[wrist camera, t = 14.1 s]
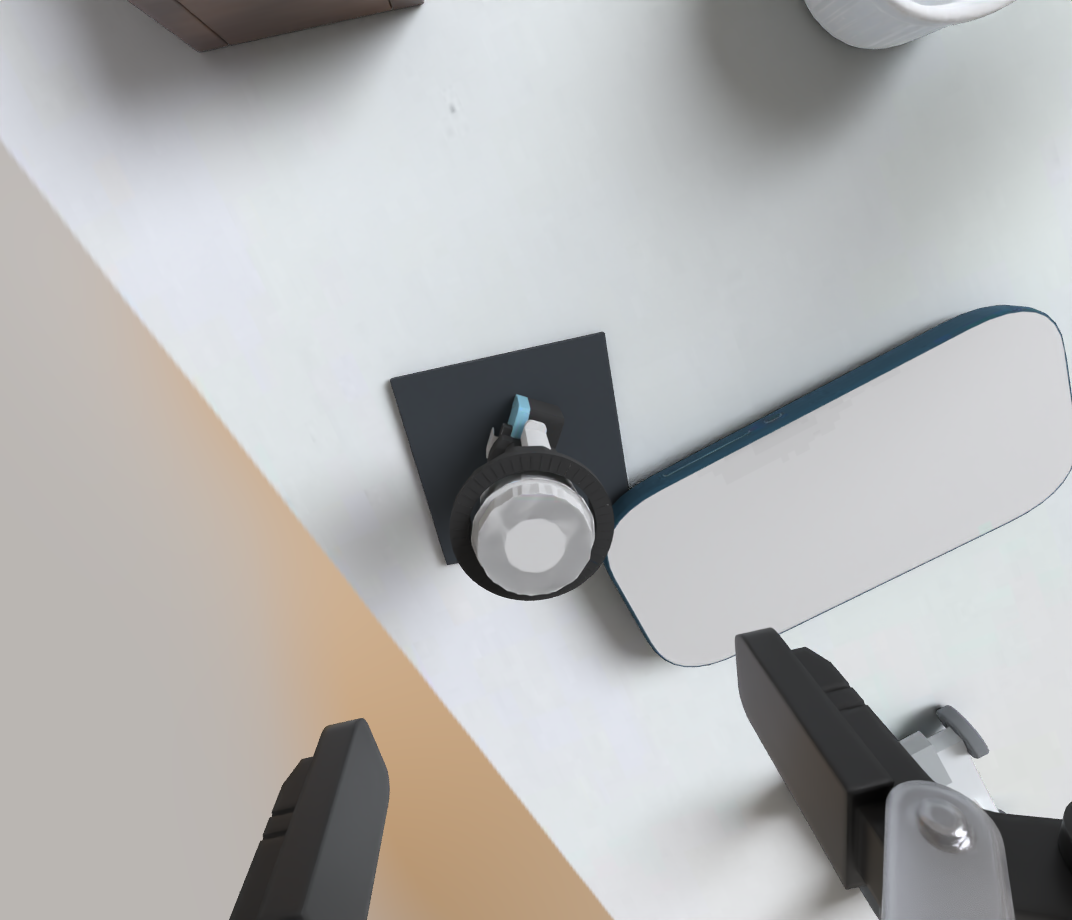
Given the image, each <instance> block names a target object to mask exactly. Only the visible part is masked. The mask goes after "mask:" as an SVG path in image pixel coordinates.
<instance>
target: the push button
mask: <svg viewBox="0 0 1072 920" xmlns="http://www.w3.org/2000/svg"><path fill="white" fill-rule="evenodd" d="M564 421H565V419H564V416H563V414H562V412H561V410H560V408H559V406H557V405H553V404H549V403H546V402H542V401H539V400H535V399H532V398H528V397H525V396H521V395H518V394H516V395H515V398H514V401H513V405H512V410H511V414H510V417H509V420H508V424H505V423H503V424H502V426H501V430H500V433H499V436H498V437H496V436H494V428H493V427H492V430H491V433H490V437H489V440H488V444H487V448H486V458H488V459H487V463H486V464H484V465H482V466H481V467H479V468H477V469H476V470H475V471H474V472H473V473H472V475H471V476H470V477H469V478H468V480H467V481H466V482H465V483H464V485H463V486H462V488H461V489H460V491H459V493H458V495H457V497H456V499H455V502H454V504H453V508H452V512H451V518H450V541H451V545H452V549H453V552H454V555H455V557H456V559H457V561H458V563H459V564H460V566H461V567H462V569H463V570H464V571H465V573H466V574H467V575H468V576H469V577H470V578H471V579H472V580H473V581H474V582H476V583H477V584H478V585H479V586H481V587H483V588H484V589H486V590H488V591H490V592H492V593H494V594H496V595H499V596H502V597H505V598H509V599H515V600H524V601H534V600H543V599H548V598H553V597H556V596H559V595H562V594H564V593H567V592H569V591H571V590H573V589H575V588H576V587H578V586H579V585H581V584H582V583H584V582H585V581H586V580H587V579H589V578H590V577H591V576H592V575H593V574H594V573H595V572H596V570H597V569H598V568H599V567H600V565H601V564H602V563H603V561H604V559H605V557H606V556H607V554H608V551H609V549H610V546H611V543H612V540H613V535H614V514H613V508H612V505H611V502H610V499H609V497H608V495H607V493H606V491H605V489H604V487H603V485H602V484H601V482H600V481H599V480H598V478H597V477H596V476H595V475H594V474H593V473H592V472H591V471H590V470H589V469H588V468H587V467H586V466H584V465H583V464H581V463H580V462H579V461H577V460H575V459H573V458H571V457H569V456H566V455H564V454H561V453H557V451H556V447H557V444H558V441H559V438H560V435H561V432H562V429H563V426H564ZM571 481H572V482H573V483H575V484H576V485H577V486H578V487H579V488H581V489H582V491H583V492H584V493H585V494H586V495H587V497H588V501H589V508H588V506H587V504H586V503H585V501H584V499H583V498H582V497H581V496H580V495H579V494H578V493H577V491H576V489H575V488H574V486H573V484H572V483H571ZM479 497H480V509H479V510H478V512H477V513H476V515H475V517H474V520H473V526H472V522H471V518H470V515H471V512H472V509H473V507H474V505H475V503H476V502H477V500H478V499H479Z"/></svg>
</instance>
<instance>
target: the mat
mask: <svg viewBox="0 0 1072 920" xmlns="http://www.w3.org/2000/svg"><path fill="white" fill-rule="evenodd" d="M390 382H391V385H392V389H393V392H394V395H395V398H396V402H397V405H398V408H399V411H400V415H401V418H402V421H403V424H404V428H405V431H406V434H407V437H408V441H409V444H410V447H411V450H412V453H413V457H414V460H415V463H416V466H417V470H418V473H419V476H420V479H421V483H422V486H423V489H424V492H425V496H426V499H427V502H428V505H429V509H430V512H431V515H432V518H433V521H434V525H435V528H436V531H437V534H438V538H439V541H440V544H441V547H442V551H443V554H444V557H445V560H446V564H447V565H450V564H455V563H458V561H457V559H456V557H455V555H454V552H453V549H452V545H451V541H450V518H451V512H452V508H453V504H454V502H455V499H456V497H457V495H458V493H459V491H460V489H461V488H462V486H463V485H464V483H465V482H466V481H467V480H468V478H469V477H470V476H471V475H472V473H473V472H474V471H475V470H476V469H477V468H479V467H481V466H482V465H484V464H486V463H487V459H488V458H486V448H487V444H488V440H489V437H490V433H491V430H492V427H493V428H494V436H496V437H498V436H499V433H500V430H501V426H502V424H503V423H505V424H508V420H509V417H510V414H511V410H512V405H513V401H514V398H515V395H516V394H518V395H521V396H525V397H528V398H532V399H535V400H539V401H542V402H546V403H549V404H553V405H557V406H559V408H560V410H561V412H562V414H563V416H564V419H565V421H564V426H563V429H562V432H561V435H560V438H559V441H558V444H557V447H556V451H557V453H561V454H564V455H566V456H569V457H571V458H573V459H575V460H577V461H579V462H580V463H581V464H583V465H584V466H586V467H587V468H588V469H589V470H590V471H591V472H592V473H593V474H594V475H595V476H596V477H597V478H598V480H599V481H600V482H601V484H602V485H603V487H604V489H605V491H606V493H607V495H608V497H609V499H610V502H611V505H613V504H614V503H615V502H616V501H617V500H618V499H619V498H620V497H621V496H622V495H623V494H625V493H626V492H627V491H629V487H628V481H627V475H626V468H625V462H624V455H623V449H622V442H621V436H620V429H619V423H618V416H617V410H616V403H615V397H614V391H613V384H612V378H611V371H610V365H609V358H608V352H607V345H606V339H605V333H604V332H599V333H595V334H590V335H586V336H581V337H576V338H572V339H567V340H563V341H558V342H554V343H549V344H545V345H540V346H536V347H531V348H526V349H522V350H517V351H513V352H508V353H504V354H499V355H495V356H490V357H486V358H481V359H477V360H472V361H467V362H463V363H458V364H454V365H449V366H445V367H440V368H436V369H431V370H427V371H422V372H417V373H413V374H408V375H404V376H399V377H395V378H391V379H390ZM571 483H572V484H573V486H574V488H575V489H576V491H577V493H578V494H579V495H580V496H581V497H582V498H583V499H584V501H585V503H586V504H587V506H588V508H589V501H588V497H587V495H586V494H585V493H584V492H583V491H582V489H581V488H579V487H578V486H577V485H576V484H575V483H573V482H572V481H571ZM479 509H480V497H479V499H478V500H477V502H476V503H475V505H474V507H473V509H472V512H471V515H470V518H471V522H472V526H473V520H474V517H475V515H476V513H477V512H478V510H479Z"/></svg>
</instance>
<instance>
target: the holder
mask: <svg viewBox="0 0 1072 920" xmlns="http://www.w3.org/2000/svg"><path fill="white" fill-rule="evenodd" d="M127 1H129V2H130V3H132V4H133V5H134V6H136V7H137V8H138V9H140V10H141V11H143V12H144V13H145V14H147V15H148V16H149V17H151V18H152V19H154V20H155V21H156V22H158V23H159V24H160V25H162V26H163V27H165V28H166V29H167V30H169V31H170V32H171V33H173V34H174V35H176V36H177V37H178V38H180V39H181V40H182V41H184V42H185V43H187V44H188V45H189V46H191V47H192V48H193V49H195V50H196V51H198V52H203V51H208V50H212V49H217V48H221V47H226V46H228V44H229V45H234V44H239V43H244V42H248V41H253V40H257V39H262V38H266V37H271V36H276V35H280V34H285V33H289V32H294V31H299V30H303V29H308V28H312V27H317V26H321V25H326V24H331V23H335V22H340V21H344V20H349V19H353V18H358V17H363V16H367V15H372V14H376V13H381V12H386V11H390V10H391V9H393V10H397V9H401V8H406V7H410V6H415V5H420V4H423V3H424V0H127Z"/></svg>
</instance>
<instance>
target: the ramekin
mask: <svg viewBox="0 0 1072 920" xmlns="http://www.w3.org/2000/svg"><path fill="white" fill-rule="evenodd" d="M804 1H805V3H806V5H807V7H808V9H809V10H810V12H811V13H812V15H813V17H814V18H815V19H816V20H817V21H818V22H819V23H820V25H821V26H822V27H823V28H824V29H825V30H827V31H828V32H829V33H830V34H831V35H832V36H833V37H835V38H837V39H839V40H841V41H842V42H844V43H846V44H848V45H851V46H855V47H858V48H866V49H882V48H890V47H893V46H898V45H902V44H904V43H907V42H910V41H912V40H915V39H918V38H920V37H923V36H925V35H928V34H930V33H933V32H935V31H938V30H940V29H942V28H945V27H947V26H950V25H957V24H961V23H964V22H968V21H972V20H975V19H978V18H982V17H984V16H986V15H989V14H991V13H994V12H996V11H998V10H1000V9H1002V8H1004V7H1006V6H1007V5H1009V4H1011V3H1013V2H1014V1H1016V0H804Z"/></svg>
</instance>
